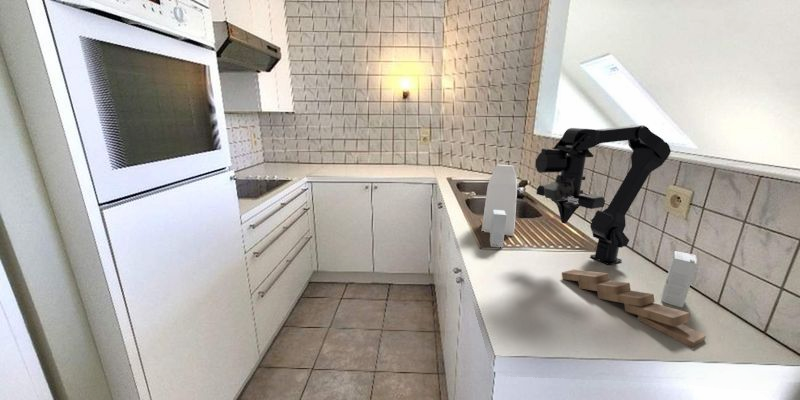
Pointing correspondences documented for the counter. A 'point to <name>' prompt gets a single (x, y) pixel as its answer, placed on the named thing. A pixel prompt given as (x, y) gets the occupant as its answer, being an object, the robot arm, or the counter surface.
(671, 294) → the skincare box
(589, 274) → the domino
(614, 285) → the domino
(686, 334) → the domino
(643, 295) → the domino
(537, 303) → the counter surface
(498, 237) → the skincare box
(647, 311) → the domino
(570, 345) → the counter surface
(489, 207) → the milk
